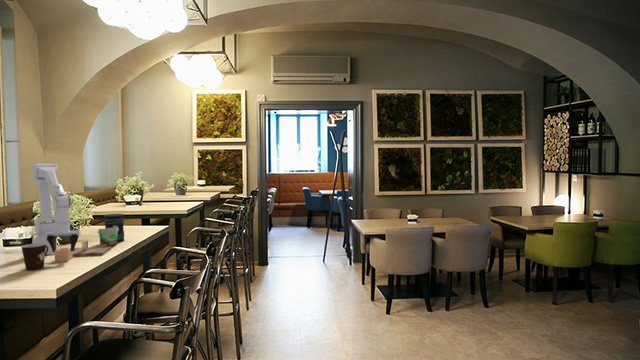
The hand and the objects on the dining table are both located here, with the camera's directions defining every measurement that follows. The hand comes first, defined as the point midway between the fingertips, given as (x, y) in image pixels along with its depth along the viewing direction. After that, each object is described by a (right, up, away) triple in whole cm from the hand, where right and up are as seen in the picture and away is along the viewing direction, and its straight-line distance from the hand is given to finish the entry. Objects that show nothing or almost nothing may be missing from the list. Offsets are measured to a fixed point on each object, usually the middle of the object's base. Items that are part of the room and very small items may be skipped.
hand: (63, 251), depth 205 cm
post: (+3, -2, +14) cm, 14 cm away
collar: (0, -4, 0) cm, 4 cm away
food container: (+8, -2, +31) cm, 32 cm away
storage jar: (+3, -2, +45) cm, 45 cm away
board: (+3, -3, +14) cm, 14 cm away
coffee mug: (-2, -5, -14) cm, 15 cm away
